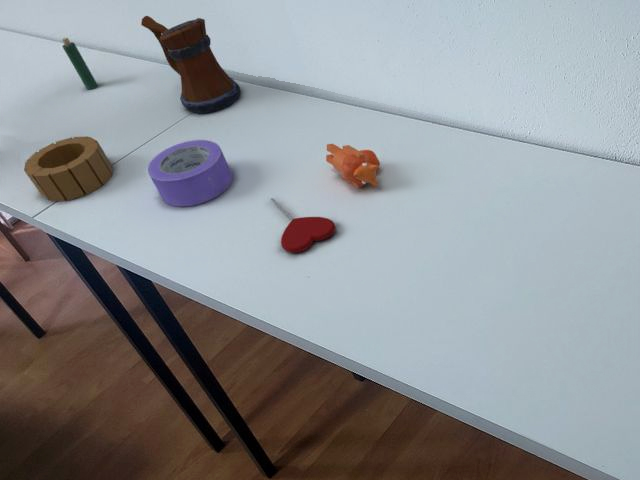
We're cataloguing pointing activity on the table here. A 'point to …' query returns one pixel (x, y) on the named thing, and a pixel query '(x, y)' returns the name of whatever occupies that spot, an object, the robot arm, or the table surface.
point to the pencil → (79, 64)
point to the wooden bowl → (69, 168)
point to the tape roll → (190, 173)
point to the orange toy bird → (354, 164)
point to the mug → (195, 65)
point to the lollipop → (305, 231)
